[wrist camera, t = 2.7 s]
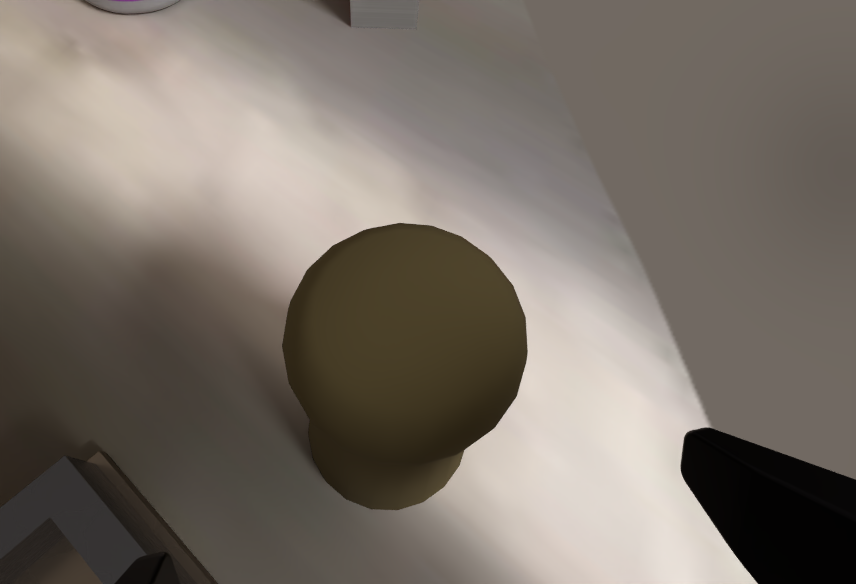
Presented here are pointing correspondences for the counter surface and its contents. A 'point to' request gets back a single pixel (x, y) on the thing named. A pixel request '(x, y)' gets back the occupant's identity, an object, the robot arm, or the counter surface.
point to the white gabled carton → (384, 14)
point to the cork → (402, 359)
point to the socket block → (85, 528)
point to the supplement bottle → (132, 5)
